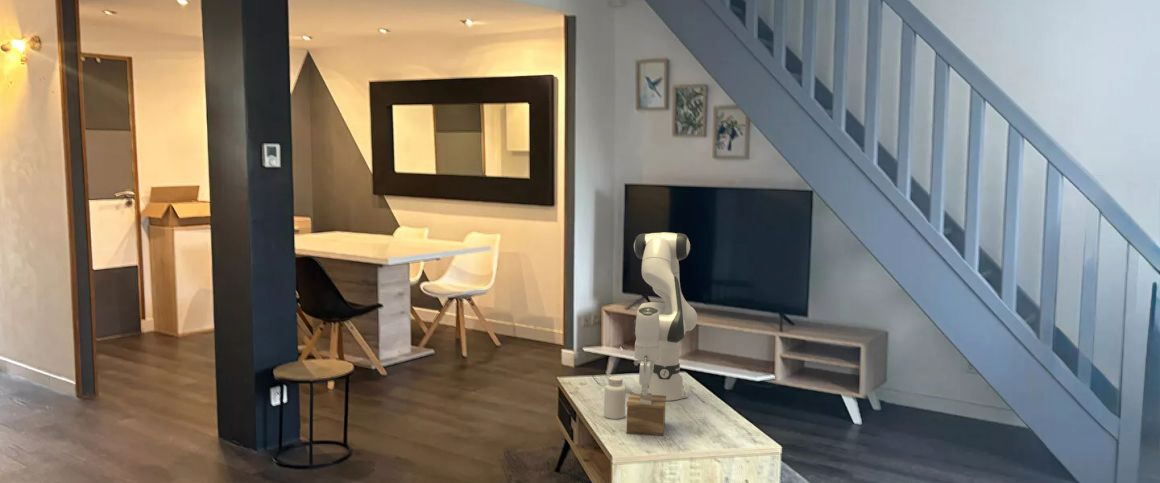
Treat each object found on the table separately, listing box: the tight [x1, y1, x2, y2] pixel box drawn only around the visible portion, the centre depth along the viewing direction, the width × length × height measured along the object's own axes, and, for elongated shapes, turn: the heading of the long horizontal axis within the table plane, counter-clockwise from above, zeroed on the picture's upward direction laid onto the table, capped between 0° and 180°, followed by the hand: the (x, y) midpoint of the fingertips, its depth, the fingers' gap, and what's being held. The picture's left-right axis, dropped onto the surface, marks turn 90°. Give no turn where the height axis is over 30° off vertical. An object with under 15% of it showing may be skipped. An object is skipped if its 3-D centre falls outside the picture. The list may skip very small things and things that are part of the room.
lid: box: [626, 392, 666, 408], centre depth 333 cm, size 14×13×4 cm
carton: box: [626, 405, 666, 437], centre depth 334 cm, size 14×13×10 cm
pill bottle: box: [603, 376, 626, 420], centre depth 348 cm, size 8×8×15 cm
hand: (645, 391), depth 327 cm, fingers open, 8 cm apart
